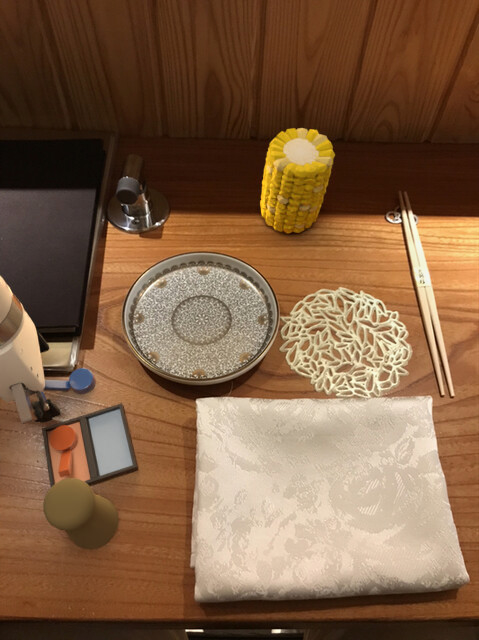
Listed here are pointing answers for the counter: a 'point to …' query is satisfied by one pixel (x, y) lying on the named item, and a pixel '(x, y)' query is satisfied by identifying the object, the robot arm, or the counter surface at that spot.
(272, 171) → the food
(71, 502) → the olive waisted cylinder
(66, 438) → the terracotta spoon
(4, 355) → the robot arm
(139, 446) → the counter surface
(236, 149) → the counter surface
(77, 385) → the blue spoon
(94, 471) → the sorting tray
